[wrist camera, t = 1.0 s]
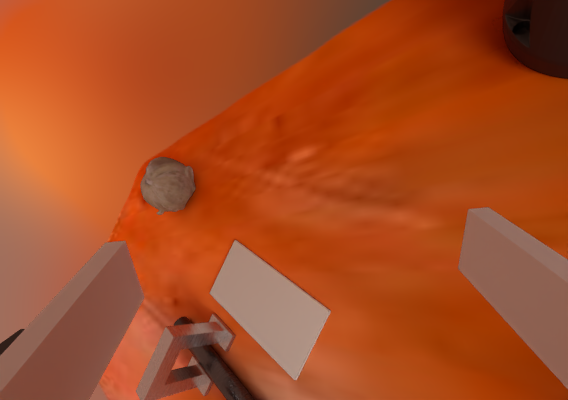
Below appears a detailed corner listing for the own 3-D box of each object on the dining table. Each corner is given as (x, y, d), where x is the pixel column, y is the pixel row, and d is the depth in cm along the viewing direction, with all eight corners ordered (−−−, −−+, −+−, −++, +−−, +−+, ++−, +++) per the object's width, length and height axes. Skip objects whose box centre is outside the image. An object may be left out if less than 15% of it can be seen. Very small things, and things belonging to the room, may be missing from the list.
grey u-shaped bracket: (215, 313, 45) (161, 317, 38) (235, 335, 42) (180, 344, 35) (189, 369, 46) (130, 383, 39) (207, 395, 43) (147, 415, 36)
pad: (236, 240, 46) (234, 239, 46) (331, 310, 35) (329, 311, 35) (211, 293, 47) (209, 293, 47) (296, 379, 36) (294, 380, 35)
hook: (196, 303, 48) (101, 306, 37) (307, 427, 34) (206, 493, 23) (177, 342, 49) (78, 357, 38) (280, 482, 34) (167, 573, 23)
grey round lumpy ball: (201, 173, 59) (163, 137, 52) (213, 196, 53) (173, 159, 46) (162, 204, 59) (120, 172, 52) (171, 231, 53) (124, 199, 46)
